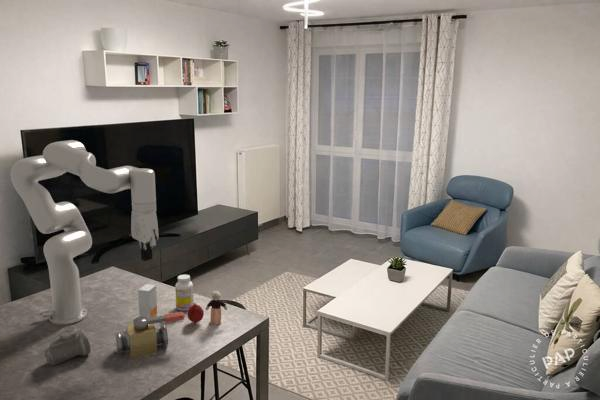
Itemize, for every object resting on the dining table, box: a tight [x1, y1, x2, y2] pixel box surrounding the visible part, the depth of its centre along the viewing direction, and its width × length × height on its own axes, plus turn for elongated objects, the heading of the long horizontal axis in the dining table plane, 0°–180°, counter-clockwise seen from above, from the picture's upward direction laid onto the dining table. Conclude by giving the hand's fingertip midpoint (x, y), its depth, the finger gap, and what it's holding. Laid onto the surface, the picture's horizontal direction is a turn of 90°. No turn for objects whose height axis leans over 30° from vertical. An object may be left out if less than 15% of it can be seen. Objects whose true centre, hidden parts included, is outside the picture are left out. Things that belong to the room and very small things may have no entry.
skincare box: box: [137, 283, 158, 318], centre depth 177 cm, size 6×4×12 cm
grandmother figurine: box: [205, 290, 228, 326], centre depth 174 cm, size 8×4×13 cm, turn 102°
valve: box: [115, 322, 169, 359], centre depth 156 cm, size 15×8×8 cm, turn 115°
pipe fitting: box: [44, 325, 91, 367], centre depth 149 cm, size 12×8×10 cm
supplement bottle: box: [175, 274, 195, 312], centre depth 185 cm, size 7×7×13 cm
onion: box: [186, 302, 205, 324], centre depth 174 cm, size 6×6×8 cm
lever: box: [132, 311, 185, 330], centre depth 157 cm, size 16×5×2 cm, turn 113°
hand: (146, 259), depth 161 cm, fingers closed
